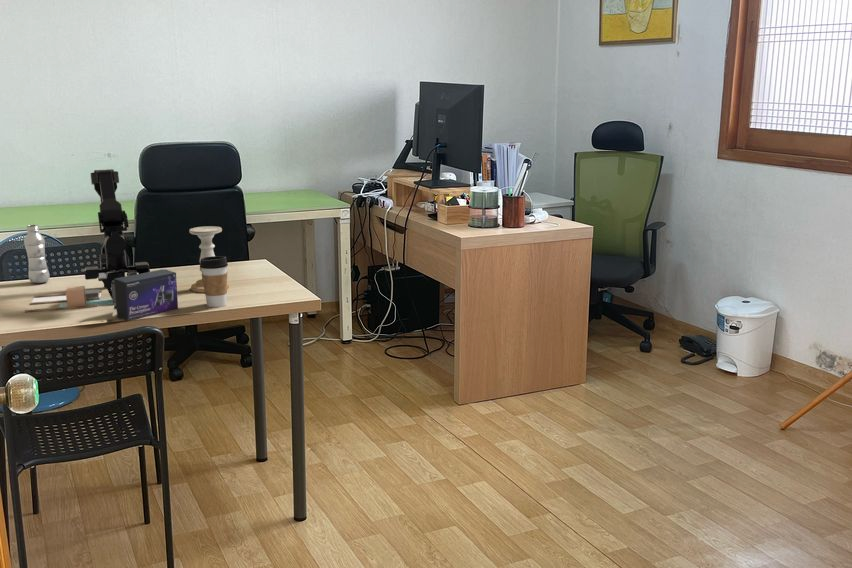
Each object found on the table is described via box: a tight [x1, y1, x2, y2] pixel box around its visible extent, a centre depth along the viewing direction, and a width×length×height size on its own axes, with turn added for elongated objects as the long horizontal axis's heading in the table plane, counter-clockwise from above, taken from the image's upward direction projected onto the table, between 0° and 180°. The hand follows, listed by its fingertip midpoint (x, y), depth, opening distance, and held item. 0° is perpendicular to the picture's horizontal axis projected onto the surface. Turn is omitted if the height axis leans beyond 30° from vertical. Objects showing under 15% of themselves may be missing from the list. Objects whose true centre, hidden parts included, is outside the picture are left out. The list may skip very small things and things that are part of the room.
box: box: [114, 268, 179, 322], centre depth 247 cm, size 17×7×12 cm, turn 139°
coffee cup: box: [199, 255, 229, 308], centre depth 255 cm, size 8×8×15 cm
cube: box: [65, 285, 88, 307], centre depth 254 cm, size 5×5×5 cm
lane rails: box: [24, 289, 102, 314], centre depth 258 cm, size 20×19×2 cm
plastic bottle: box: [23, 224, 50, 284], centre depth 285 cm, size 6×7×20 cm
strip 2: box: [58, 280, 116, 308], centre depth 255 cm, size 20×7×7 cm, turn 107°
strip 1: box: [30, 288, 102, 303], centre depth 262 cm, size 20×7×2 cm, turn 107°
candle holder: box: [189, 225, 230, 294], centre depth 274 cm, size 12×12×20 cm
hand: (120, 297), depth 258 cm, fingers closed on strip 2, 4 cm apart
